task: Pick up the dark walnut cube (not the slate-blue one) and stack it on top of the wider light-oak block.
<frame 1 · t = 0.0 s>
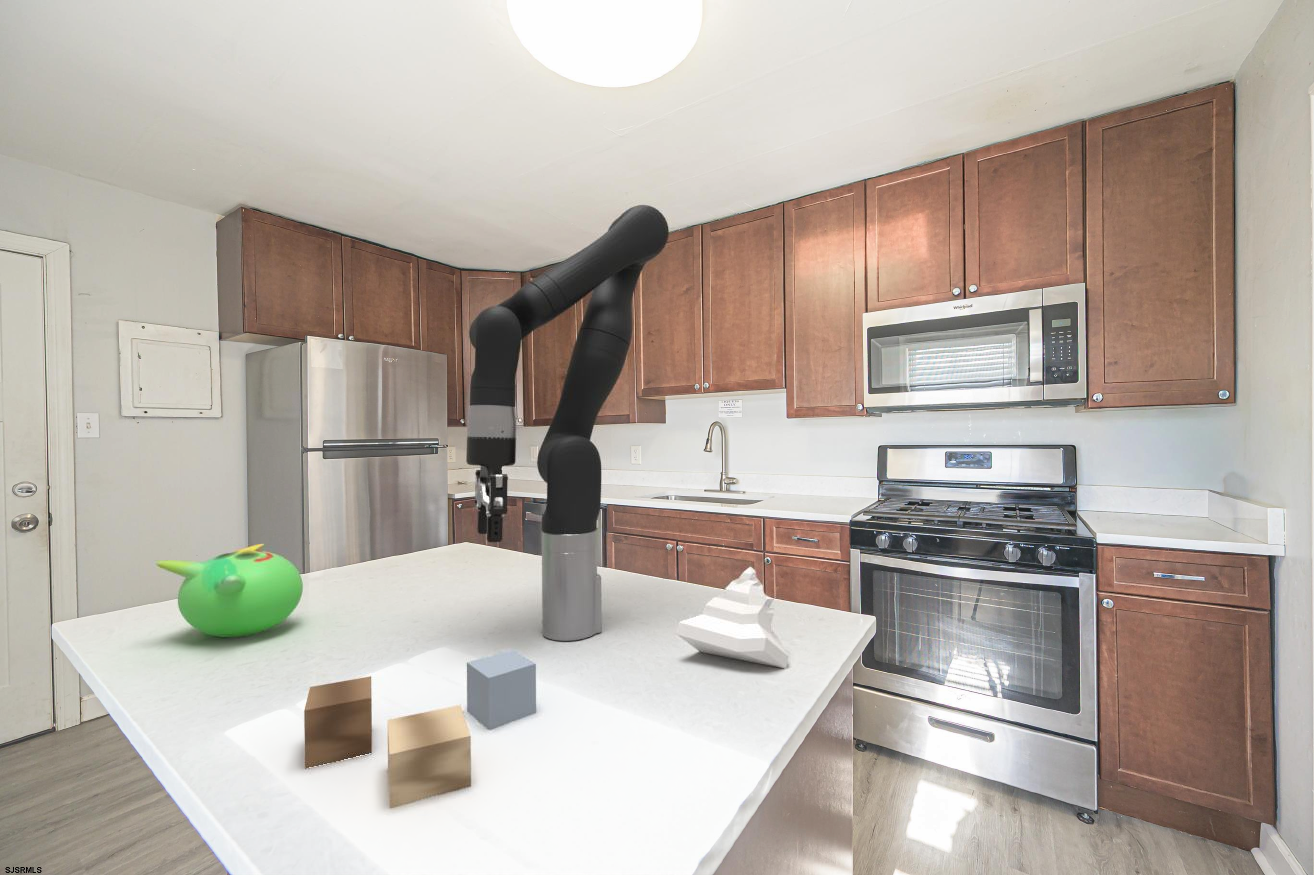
hand: (489, 537, 91), 17 cm above the countertop, tool pointing down, fingers open, 8 cm apart
toy bird: (240, 635, 97), on the countertop
oak base block: (428, 778, 56), on the countertop
walnut block: (340, 747, 61), on the countertop
slate block: (501, 712, 69), on the countertop
white seashell: (740, 658, 86), on the countertop
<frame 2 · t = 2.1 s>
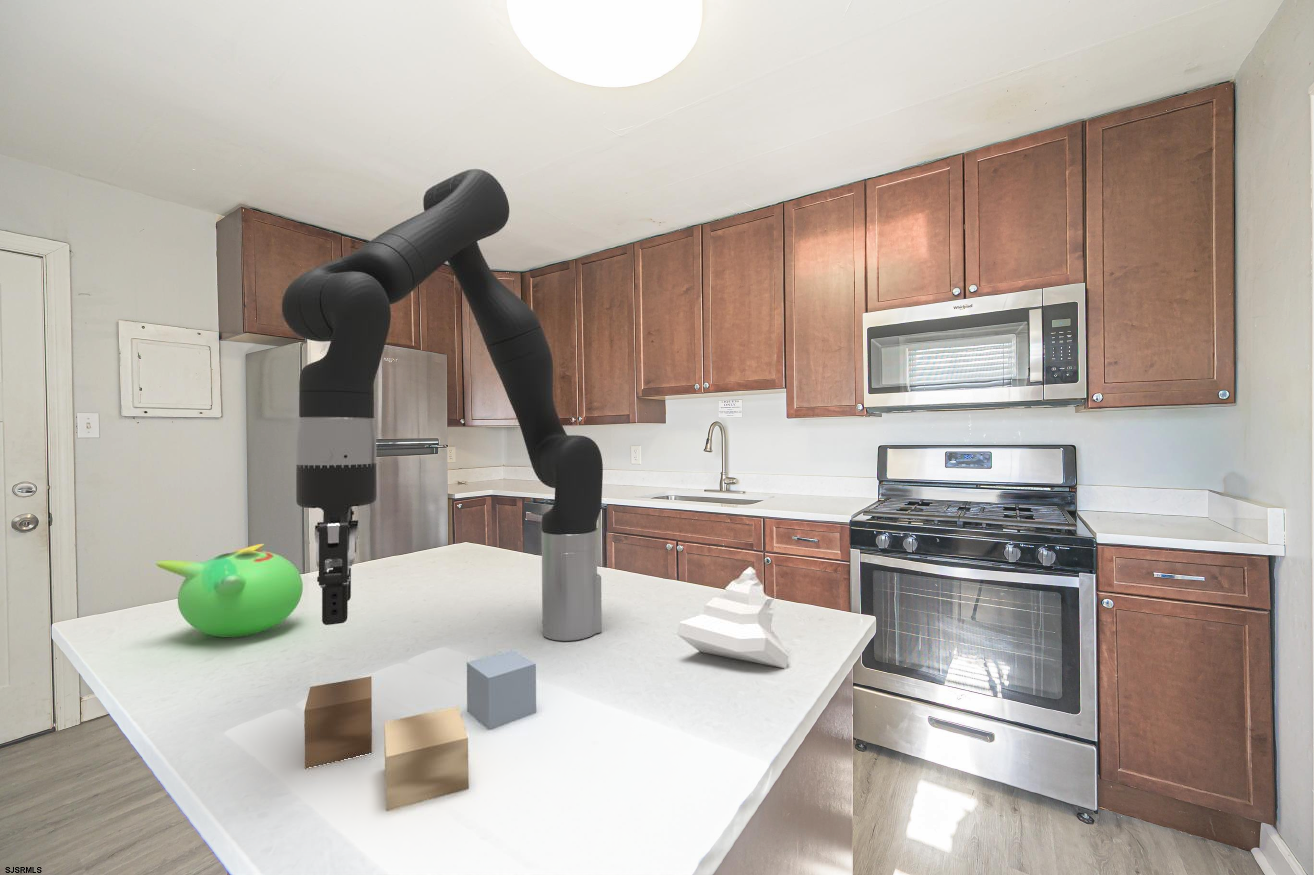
hand: (337, 611, 61), 15 cm above the countertop, tool pointing down, fingers open, 8 cm apart
nothing on the countertop moved.
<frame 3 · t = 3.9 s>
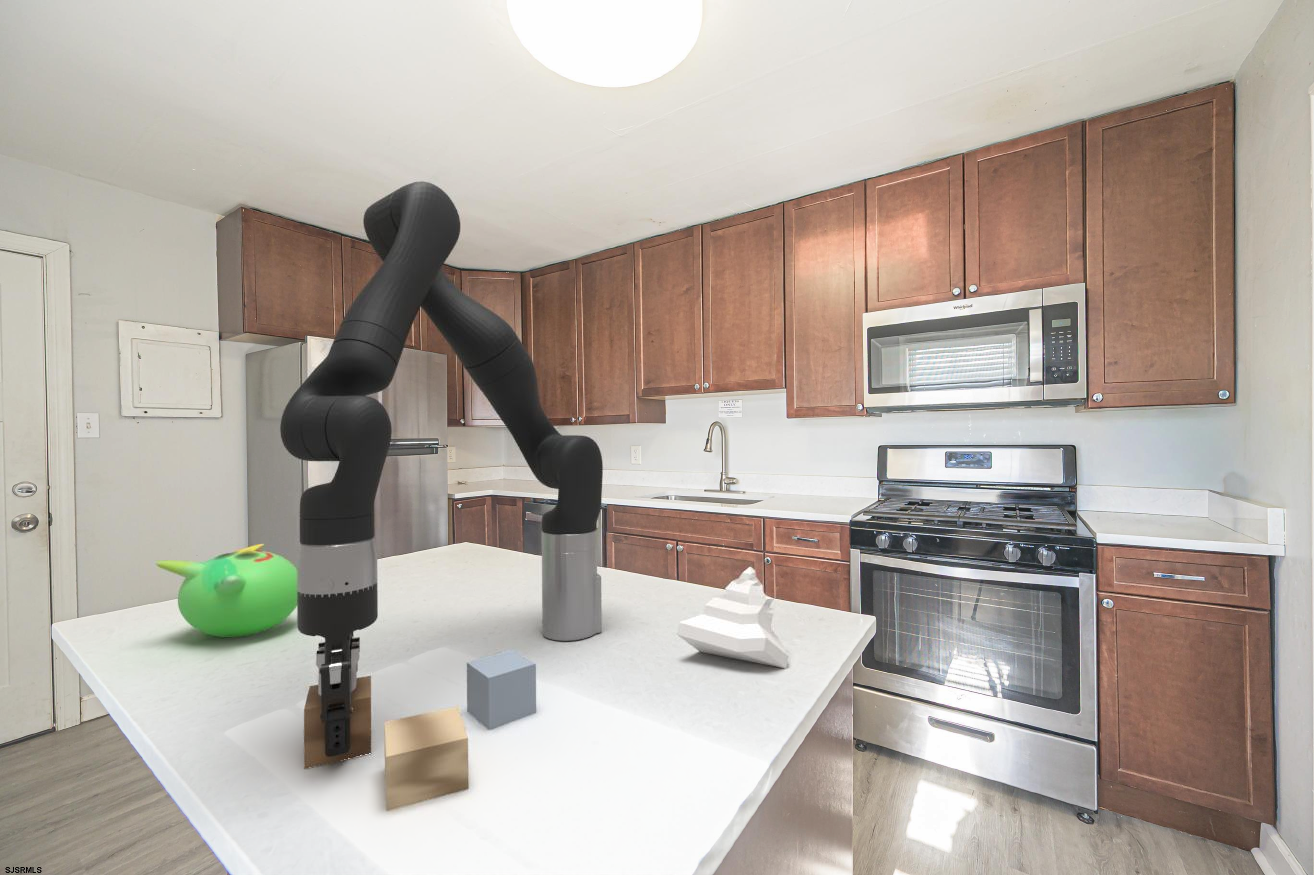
hand: (339, 737, 61), 1 cm above the countertop, tool pointing down, fingers closed on walnut block, 6 cm apart
walnut block: (340, 747, 61), on the countertop, touching gripper
everything else where it was.
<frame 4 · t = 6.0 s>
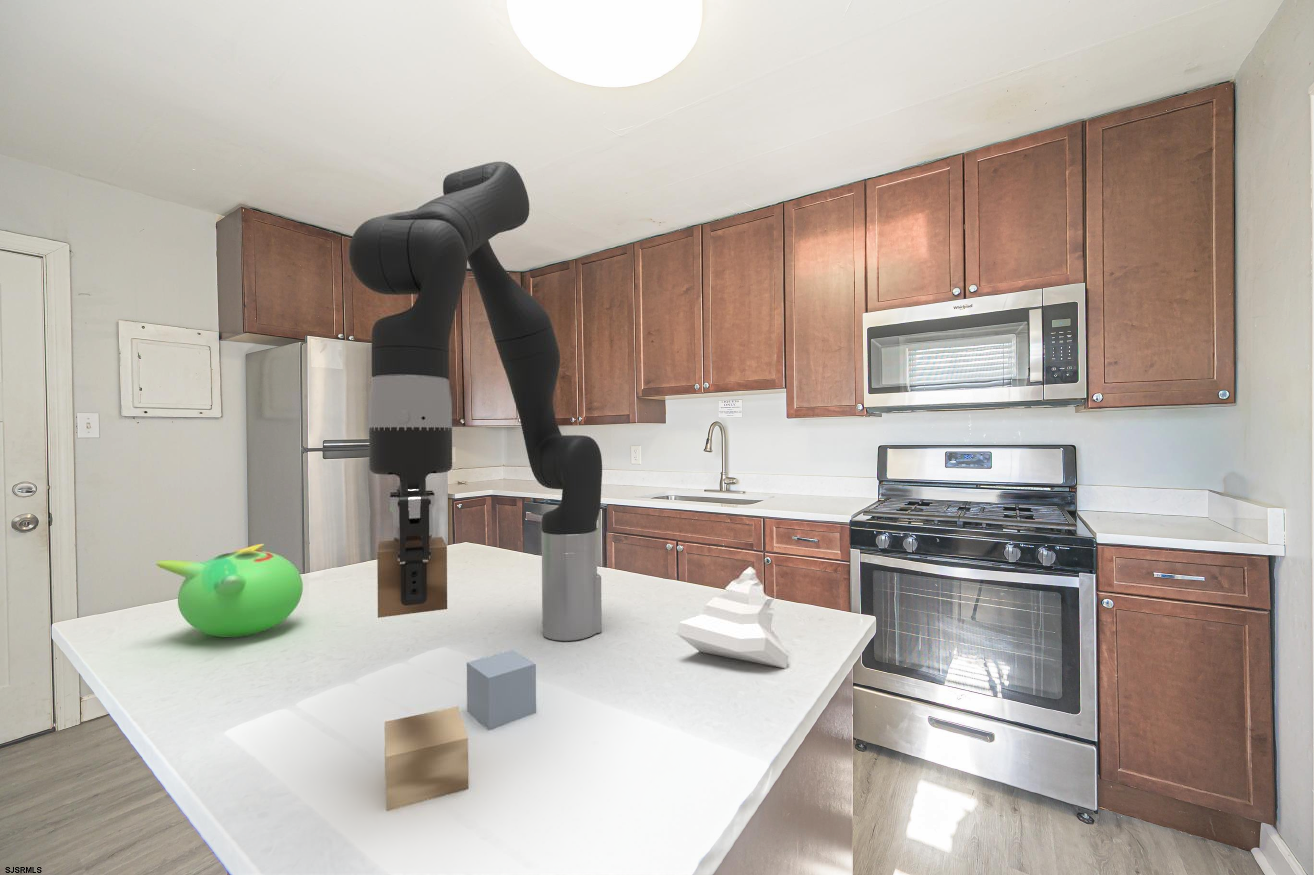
hand: (412, 594, 56), 18 cm above the countertop, tool pointing down, fingers closed on walnut block, 6 cm apart
walnut block: (412, 604, 56), point 17 cm above the countertop, touching gripper
everything else where it was.
when the fingers open (7 cm above the countertop, at t = 8.2 s): walnut block drops 1 cm, resting on oak base block.
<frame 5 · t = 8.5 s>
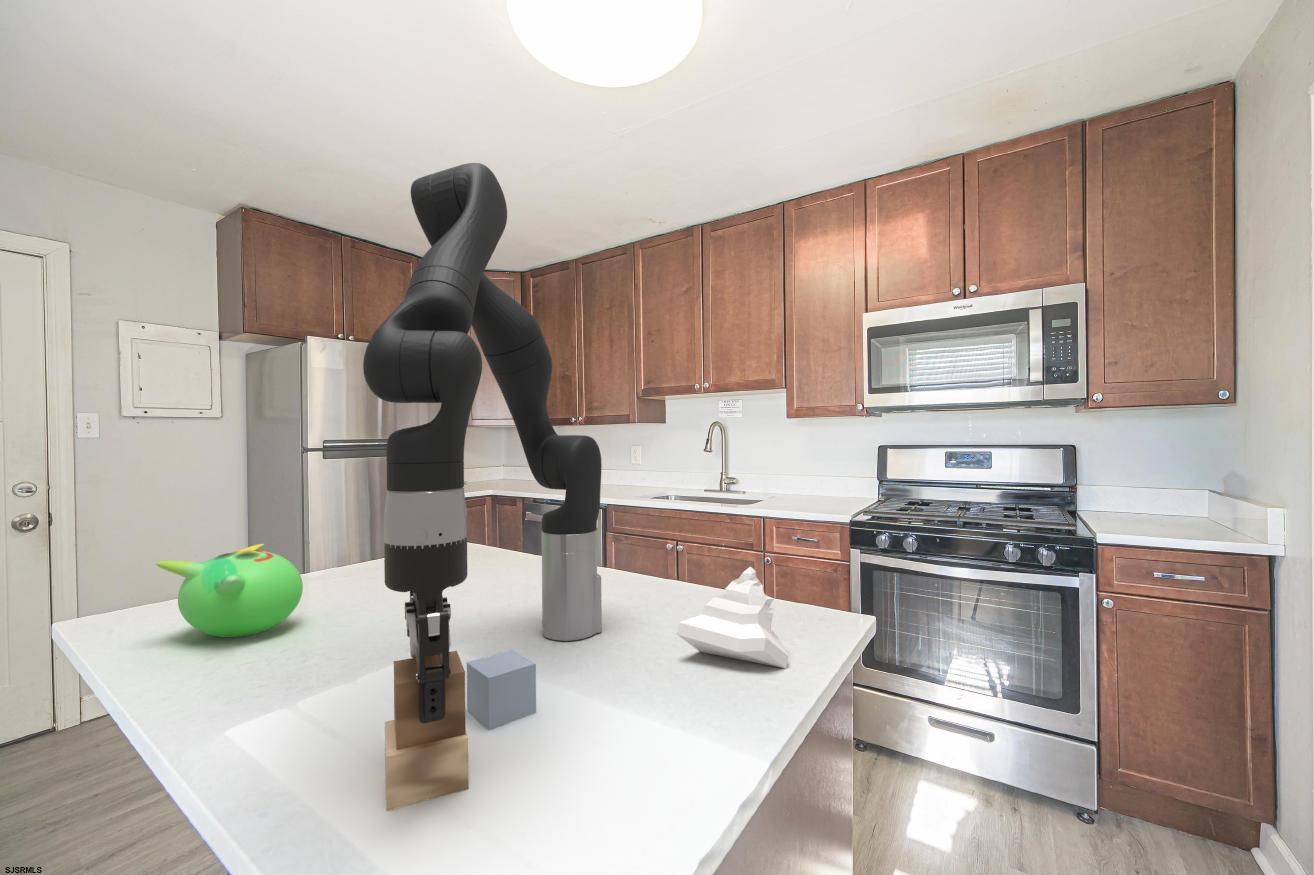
hand: (428, 700, 56), 7 cm above the countertop, tool pointing down, fingers open, 8 cm apart
oak base block: (425, 780, 56), on the countertop, touching walnut block
walnut block: (429, 727, 56), point 5 cm above the countertop, touching oak base block
everything else where it was.
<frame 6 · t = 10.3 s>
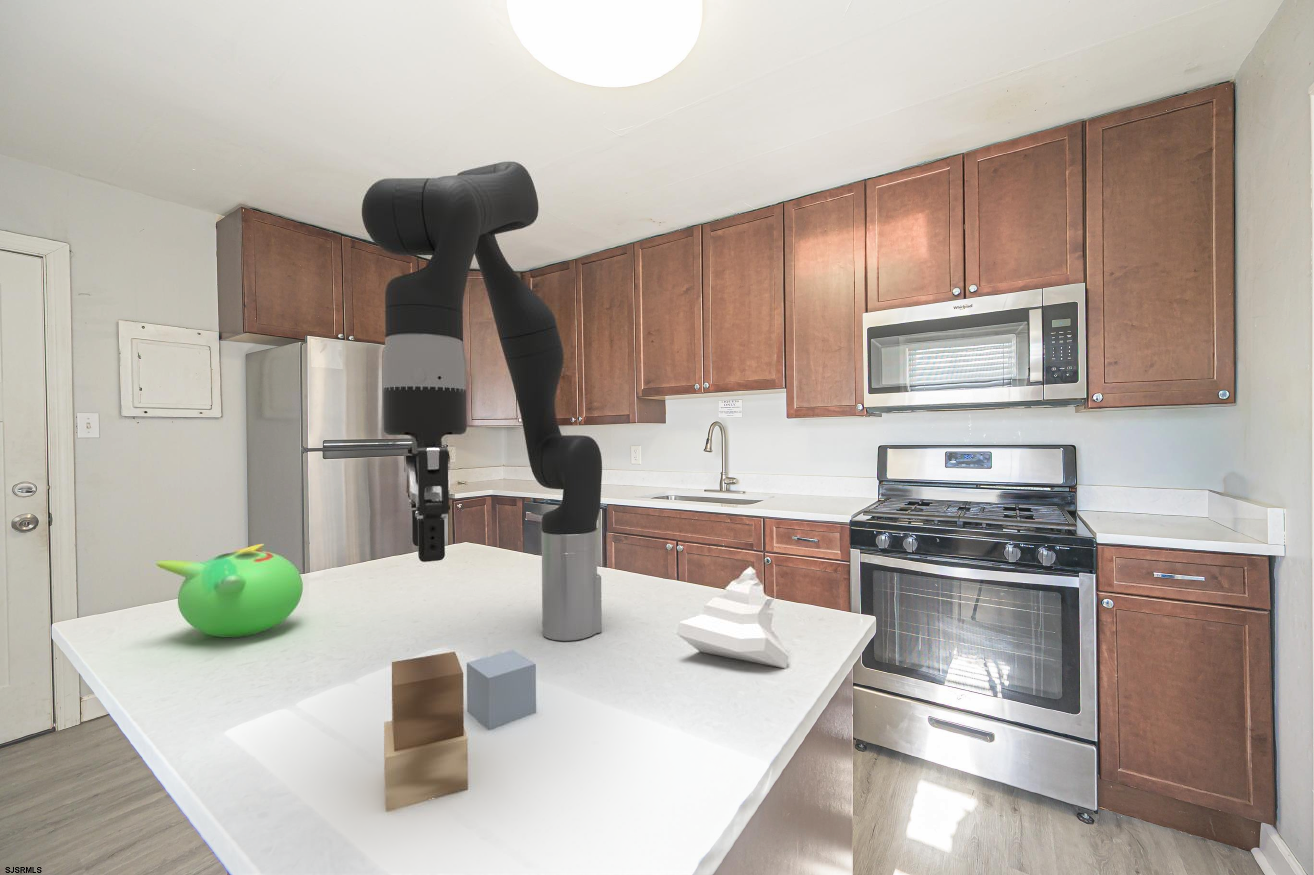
hand: (427, 552, 56), 22 cm above the countertop, tool pointing down, fingers open, 8 cm apart
oak base block: (425, 781, 55), on the countertop
walnut block: (427, 728, 56), point 5 cm above the countertop
everything else where it was.
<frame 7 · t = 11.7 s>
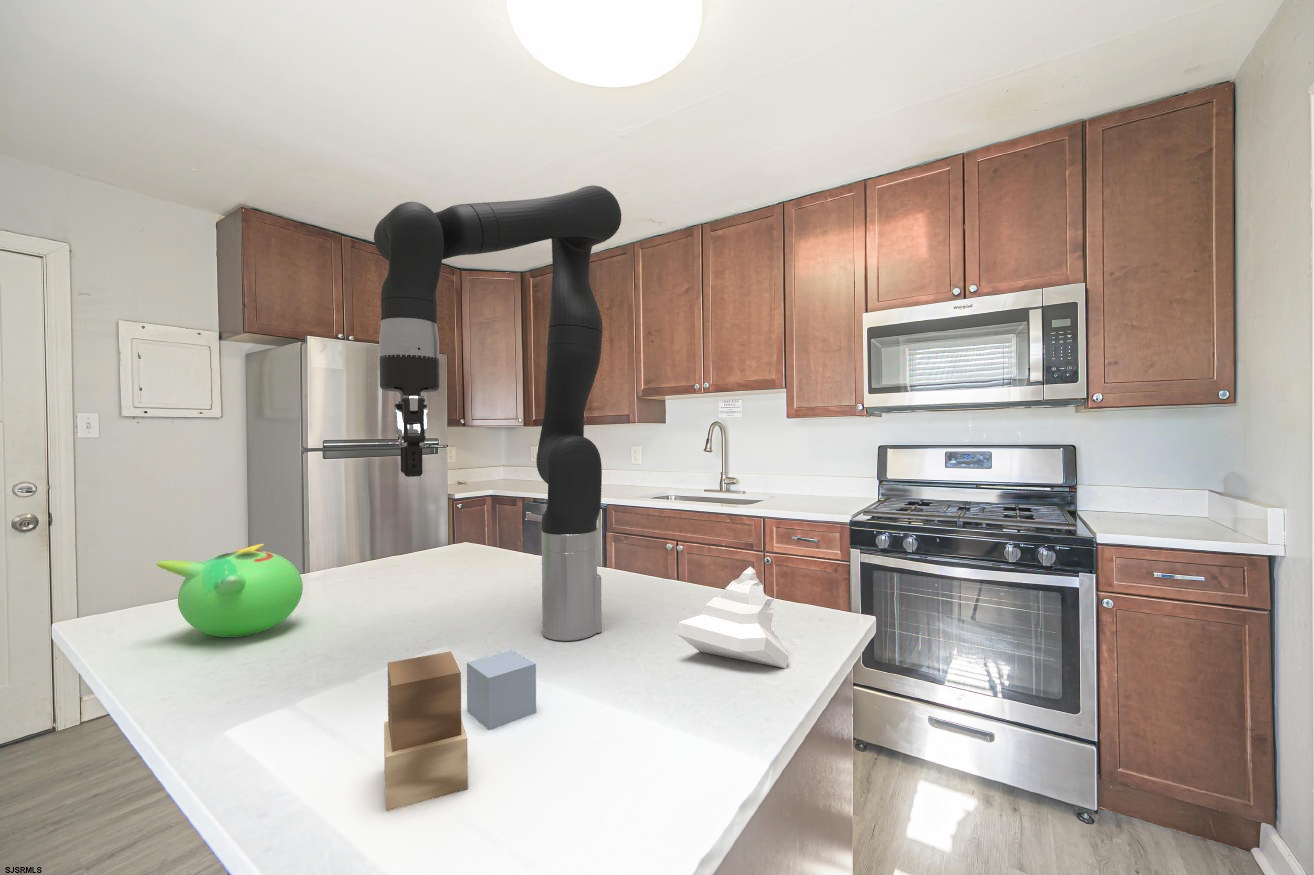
hand: (411, 474, 78), 28 cm above the countertop, tool pointing down, fingers open, 8 cm apart
oak base block: (425, 781, 55), on the countertop, touching walnut block
walnut block: (424, 728, 56), point 5 cm above the countertop, touching oak base block
everything else where it was.
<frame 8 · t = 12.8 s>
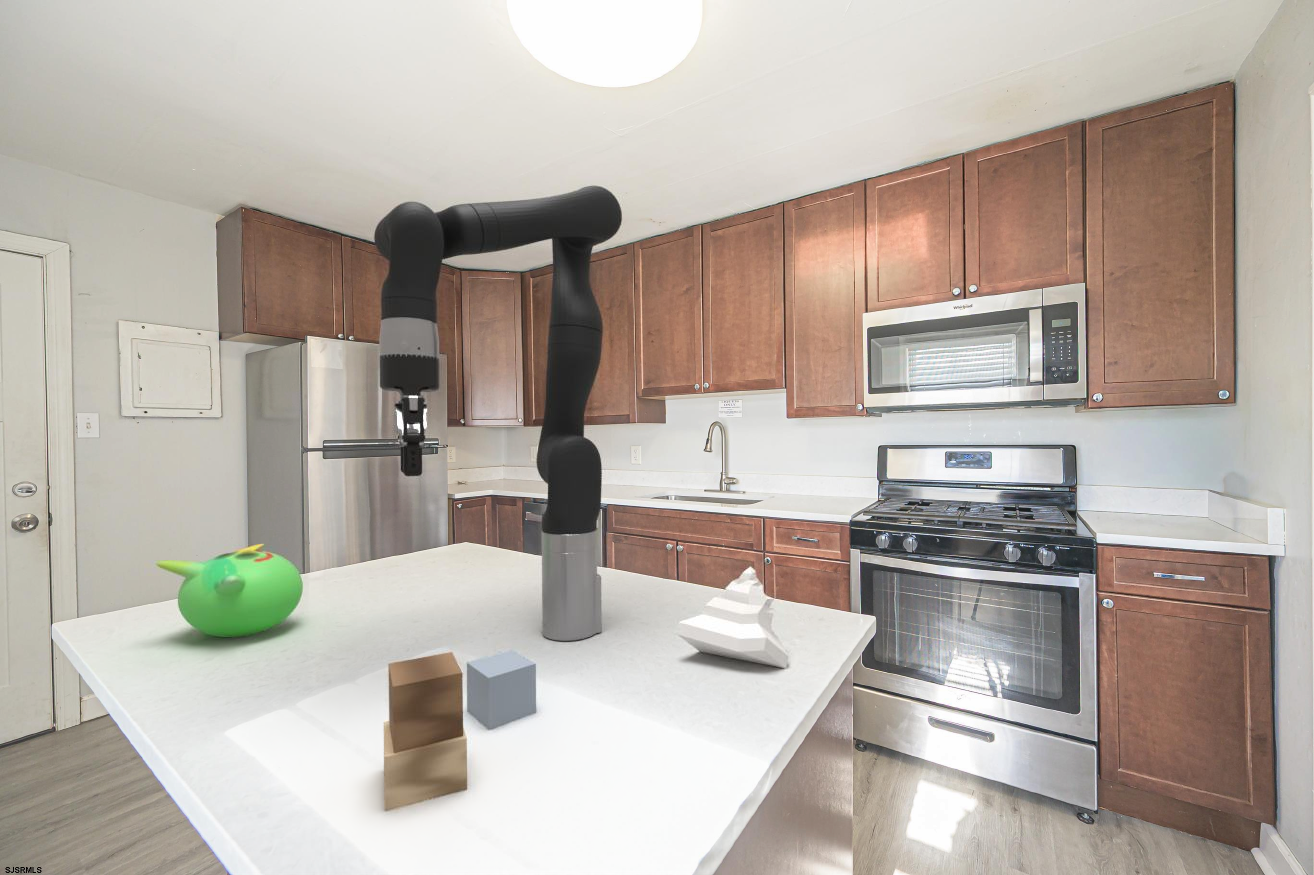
hand: (410, 474, 78), 28 cm above the countertop, tool pointing down, fingers open, 8 cm apart
oak base block: (424, 781, 55), on the countertop
walnut block: (425, 729, 55), point 5 cm above the countertop
everything else where it was.
at the end: walnut block inside the target area on the oak base block (0.1 cm from its centre), point 5.0 cm above the oak base block's base; walnut block tilted 0°; the gripper is holding nothing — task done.
